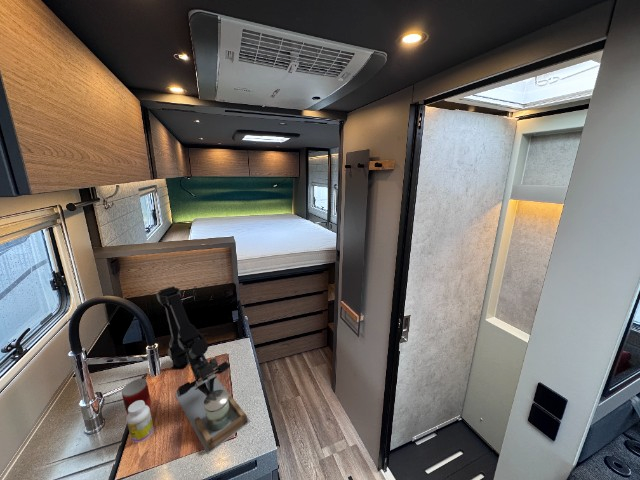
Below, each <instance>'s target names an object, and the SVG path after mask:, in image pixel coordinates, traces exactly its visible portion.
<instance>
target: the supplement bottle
mask: <svg viewBox="0 0 640 480" xmlns="http://www.w3.org/2000/svg"><path fill="white" fill-rule="evenodd" d="M125 419H126V423H127V428H128V431H129V434H130V435H129V436H130V439H131V441H132V442H133V443H137V444H138V443H142V442H144V441H145V440H147V439H148V438H149V437H151V436H152V434H153V432H154V428H155V426H154V423H153V418H152V413H151V409H150V408H149V407H148V406H147V405H145V403H144V401H143V400H138V401H135V402H134V403H132V404H131V405H130V406H129V408H128V415H127V414H126V418H125Z"/></svg>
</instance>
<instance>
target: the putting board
mask: <svg viewBox="0 0 640 480" xmlns="http://www.w3.org/2000/svg"><path fill="white" fill-rule="evenodd" d="M203 382H204V383H205V382H208V381H207V380H205V381H203ZM206 386H207V383H206ZM207 388H208V387H207ZM195 389H196V387H195V386H194V387H192V388H191V389H190V390H189V391H188V392H187V393H185V394H183V395H182V396H180V397H178V394H177V392H175V393H174V396H175V397H176V399H177V401H178V403H179V405H180V407H181V408H182V410H183V412H184V415H185V416H186V418H187V419H188V422H189V423H190V426H191V427H192V429H193V431H194V433H195V435H196V436H197V438H198V440H199V443H201V446H202V447H203V449H204V450H205V451H204V452H205V453H206V455H209V454H210V453H212V452H213V451H214V450H216V449H217V448H218V447H220V446H221V445H222V444H223V443H225V442H226V441H228V440H229V439H230V438H231V437H232V436H233V435H235V434H236V433H238V432H240V431H241V430H242V429H243V428H245V427H246V426H247V425H249V424H250V423H251V422H252V421H251V419H249V417H248V416H247V420H248V422H247V423H246V424H245V425H244V426H242V427H241V428H240V429H238V430H237V431H236V432H234V433H233V434H232V435H230V436H229V437H228V438H227V439H225V440H224V441H223V442H221V443H220V444H219V445H217V446H216V447H215V448H213V449H212V450H211V451H210V450H209V449H208V447H207V445H206V443H205V441H204V440H203V438H202V436H201V434H200V433H199V431H198V429H197V427H196V425H195V419H196V418H197V417H199V418H200V419H201V421H202V423H203V424H204V426H205V428H206V429H207V431H208V433H209V434H210V436H211V438H212V437H213V436H215V435H216V434H217V433H219V432H220V431H222V430H223V429H224V428H226V427H227V426H228V425H230V424H231V423H232V422H234V421H235V420H237V419H238V416H237V415H236V414H235V412H234V411H233V410H232V408H231V407H230V406H229V410H230V421H229V423H228V424H227V426H226V427H224V428H223V429H221V430H219V431H211V430H210V429H209V428H208V426H207V419H206V413H205V408H204V400H205V398H206V397H207V396H206V395H205V394H204V393H203V392H201V391H200V390H199V389H197V390H195ZM216 390H225V391H226V392H227V393H228V397H230V396H231V395H230V393H229V392H228V391H227V389H226V388H225V387H224V386H223V384H222V383H221V382H220V380H219V379H218V378H215V379H214V391H216Z"/></svg>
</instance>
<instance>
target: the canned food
mask: <svg viewBox="0 0 640 480" xmlns="http://www.w3.org/2000/svg"><path fill="white" fill-rule="evenodd" d="M121 396H122V400H123V403H124V408H125V409H124V410H125V411H126V416H127V415H128V408H129V406H130V405H131V404H132V403H134V402H135V401H138V400H143V401H144V403H145V405H147V406H148V407H149V408H150V407H151V405H152V399H151V396H150V391H149V386H148V382H147V380H146V378H137V379H134V380H132V381H129V382H128V383H127V384H125V385H124V387H123V388H122V390H121Z"/></svg>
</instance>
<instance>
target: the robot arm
mask: <svg viewBox="0 0 640 480" xmlns="http://www.w3.org/2000/svg"><path fill="white" fill-rule="evenodd" d="M181 294H182V293H181V290H180V288H178V287H175V286H169V287H165V288H162V289H159V290H158V292H157V293H156V295H155V296H156V298H157V301H158V302H159V303H160V305H161V306H163V307H164V308H165V313H166V318H167V322H168V325H169V327H168V328H169V331H170V335H171V337H170V340H169V343H168V345H169V348H168V350H167V353H168V354H167V355H168V357H169V358H170V360H171V361H172V366H171V370H182V369H183V370H184V369H186V368H187V366H188V365H189V366H190V369H191V371H192V374H193V377H194V381H192V382H190V381H187V382H185V383H184V384H182V385H180V386H179V387H178V388H177V390H176V393H177V394H178V397H180V396H182V395H183V394H185V393H187V392H188V391H189V390H190V389H191V388H192V387H194V386H195V387H196V389H195V390H197V389H199V390H200V391H201V392H203V393H204V394H205V395H206V396H208V395H209V394H210V393H211V392H213V391H214V379H215V378H217V374H218V375H220V374H222V373H224V372H225V371H227V370H228V369H229V368H231V366H230V363H228V362H227V361H224V362H222V363H221V364H219V365H218V361H217V359H216V358H215V357H214V358H211V359H209V361H208V360H207V358H206V356H205V355H206V353H207V351H208V349H209V344H208V342H207V341H206V340H205V336H204V335H203V334H202V333H201V332H200V331H199V330H198V329H197V327H196V326H195V325H193V324H191V322H190V320H189V318H188V315H187V313H186V310H185V308H184V306H183V303H182V295H181ZM217 379H218V378H217ZM205 380H207V381H208V382H205V383H204V382H203V381H205ZM206 383H207V386H206ZM207 387H208V388H207Z"/></svg>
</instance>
